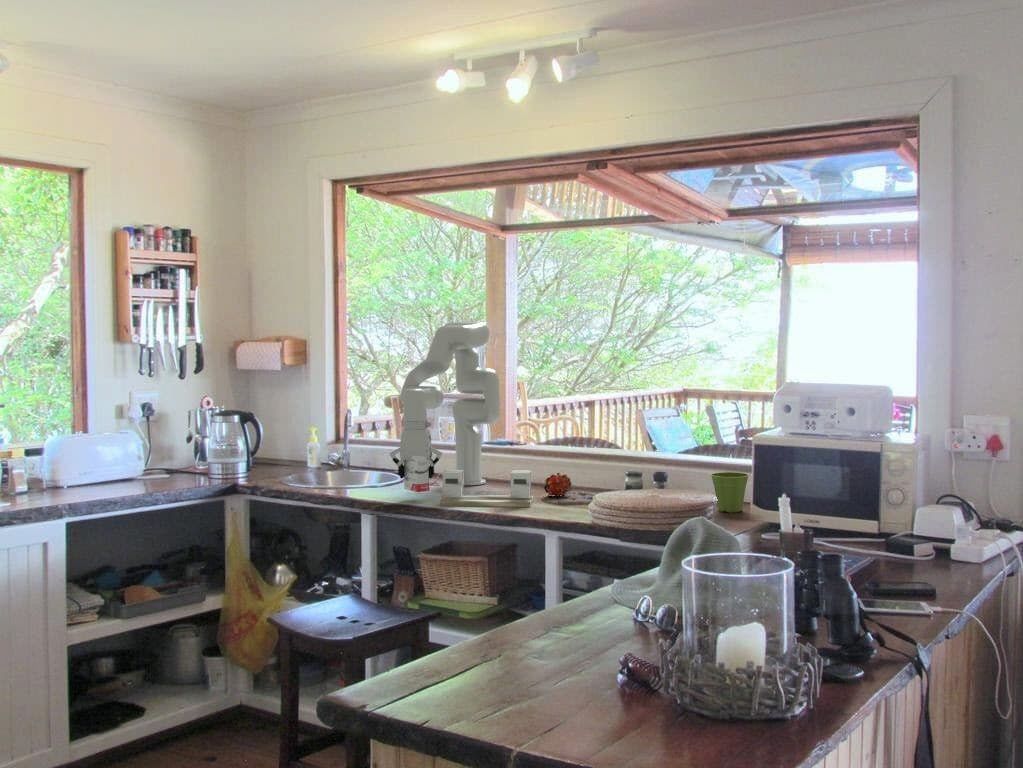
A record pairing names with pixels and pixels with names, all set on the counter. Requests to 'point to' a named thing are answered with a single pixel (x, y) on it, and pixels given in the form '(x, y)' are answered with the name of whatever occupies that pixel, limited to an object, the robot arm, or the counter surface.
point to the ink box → (416, 474)
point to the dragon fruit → (557, 484)
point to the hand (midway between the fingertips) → (416, 477)
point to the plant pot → (730, 490)
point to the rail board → (456, 497)
